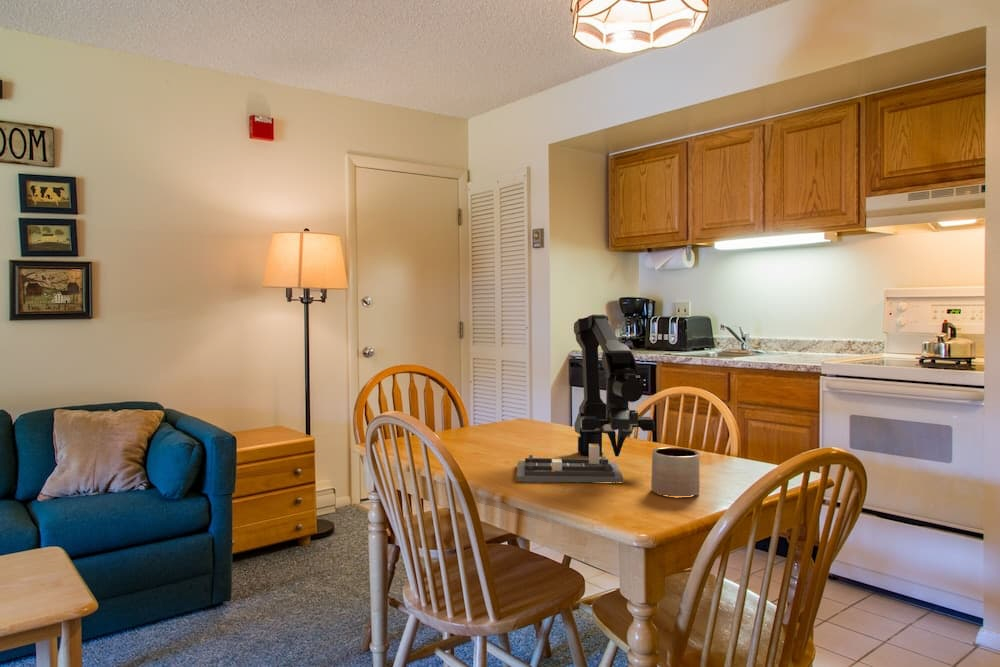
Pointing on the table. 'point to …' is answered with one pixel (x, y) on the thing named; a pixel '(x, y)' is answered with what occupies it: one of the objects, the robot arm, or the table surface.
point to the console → (567, 470)
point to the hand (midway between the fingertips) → (616, 456)
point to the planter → (675, 471)
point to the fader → (594, 454)
